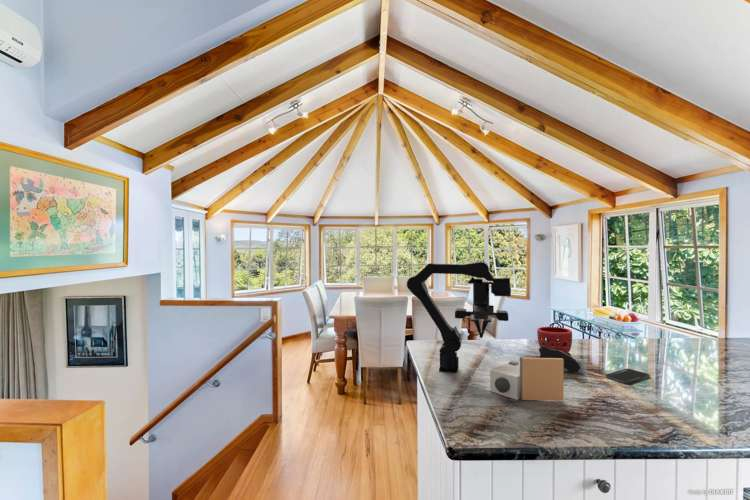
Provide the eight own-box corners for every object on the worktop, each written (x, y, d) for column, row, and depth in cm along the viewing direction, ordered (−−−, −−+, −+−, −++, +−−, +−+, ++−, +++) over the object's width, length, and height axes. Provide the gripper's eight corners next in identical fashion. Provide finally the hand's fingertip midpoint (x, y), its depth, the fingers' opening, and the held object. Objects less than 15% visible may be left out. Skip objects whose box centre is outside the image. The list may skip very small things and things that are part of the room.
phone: (604, 375, 127) (627, 368, 134) (604, 378, 127) (627, 371, 134) (628, 382, 120) (651, 374, 127) (628, 386, 120) (651, 377, 127)
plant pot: (573, 355, 152) (573, 327, 152) (570, 364, 141) (570, 334, 141) (539, 351, 159) (539, 324, 159) (535, 359, 148) (535, 330, 148)
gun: (573, 388, 132) (586, 365, 131) (531, 365, 134) (544, 342, 133) (570, 385, 135) (583, 362, 134) (529, 363, 137) (542, 340, 136)
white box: (488, 392, 115) (488, 368, 115) (510, 379, 125) (510, 358, 125) (515, 401, 109) (515, 376, 108) (536, 387, 119) (536, 364, 119)
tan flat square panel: (519, 397, 110) (519, 357, 110) (561, 398, 109) (561, 357, 109) (520, 399, 108) (520, 358, 108) (563, 400, 108) (563, 359, 107)
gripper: (453, 297, 128) (453, 341, 128) (509, 299, 122) (509, 345, 122) (456, 293, 138) (456, 334, 138) (507, 295, 133) (507, 337, 133)
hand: (481, 337), depth 133 cm, fingers closed
